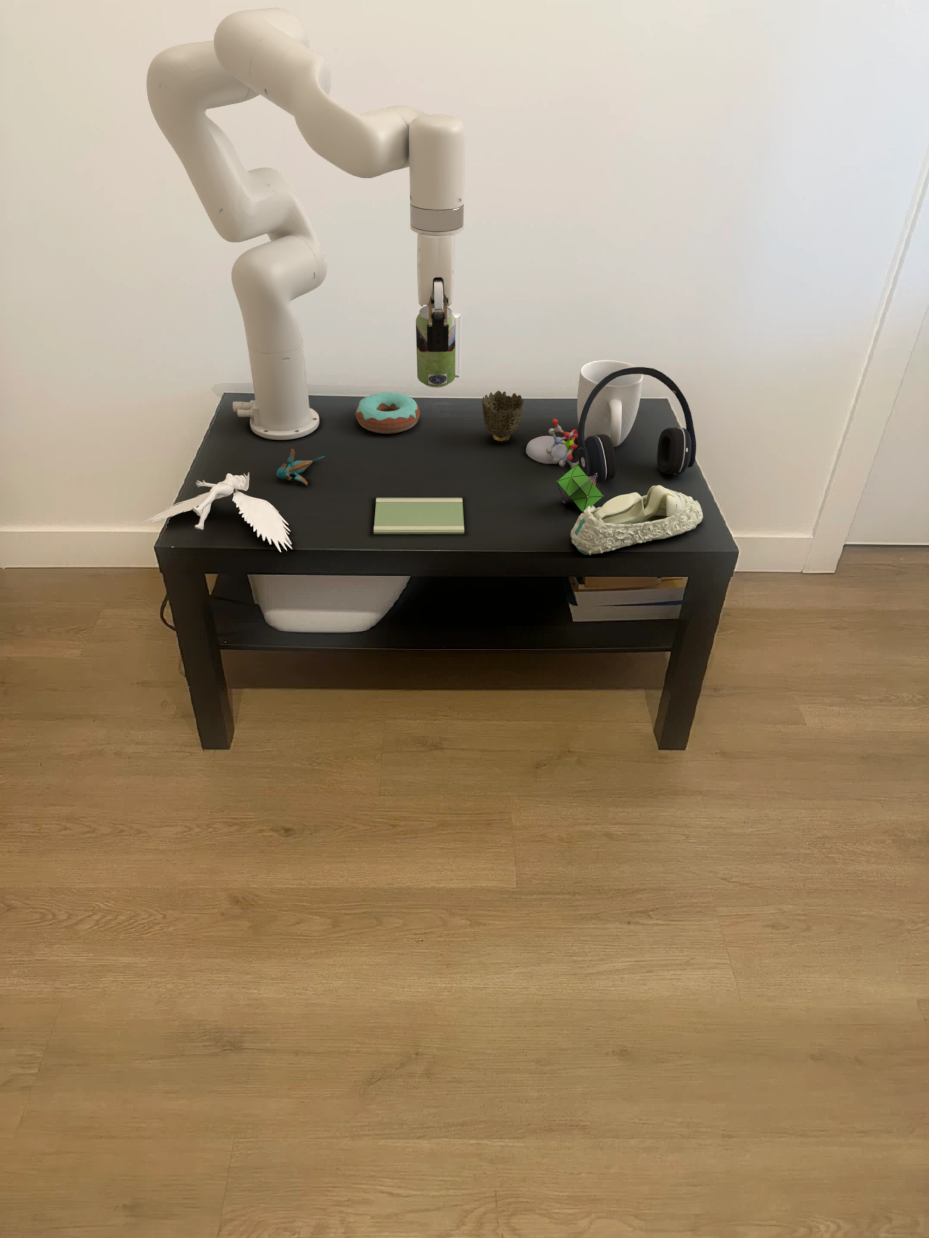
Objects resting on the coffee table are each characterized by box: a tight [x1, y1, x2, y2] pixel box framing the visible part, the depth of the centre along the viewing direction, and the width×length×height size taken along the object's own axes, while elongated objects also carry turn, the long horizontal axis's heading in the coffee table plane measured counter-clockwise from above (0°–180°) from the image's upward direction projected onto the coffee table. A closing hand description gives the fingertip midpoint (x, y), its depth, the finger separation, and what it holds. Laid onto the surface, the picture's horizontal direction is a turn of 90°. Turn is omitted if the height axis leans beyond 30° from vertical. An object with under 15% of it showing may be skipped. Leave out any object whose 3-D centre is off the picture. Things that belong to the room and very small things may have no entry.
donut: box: [355, 391, 421, 435], centre depth 161 cm, size 12×12×4 cm
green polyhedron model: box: [556, 464, 605, 514], centre depth 139 cm, size 7×7×8 cm
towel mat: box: [373, 497, 465, 535], centre depth 138 cm, size 14×10×1 cm
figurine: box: [137, 472, 293, 553], centre depth 132 cm, size 12×25×14 cm
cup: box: [481, 390, 525, 445], centre depth 155 cm, size 8×7×8 cm
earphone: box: [576, 366, 697, 484], centre depth 146 cm, size 20×7×18 cm
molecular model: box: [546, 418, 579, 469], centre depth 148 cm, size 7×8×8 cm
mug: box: [576, 359, 644, 448], centre depth 153 cm, size 15×11×13 cm
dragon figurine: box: [276, 447, 326, 487], centre depth 147 cm, size 7×7×8 cm
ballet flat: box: [570, 484, 704, 556], centre depth 133 cm, size 9×24×8 cm, turn 120°
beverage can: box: [415, 305, 457, 389], centre depth 134 cm, size 6×7×12 cm
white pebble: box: [525, 435, 571, 465], centre depth 154 cm, size 8×8×2 cm
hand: (436, 341), depth 133 cm, fingers closed on beverage can, 6 cm apart
